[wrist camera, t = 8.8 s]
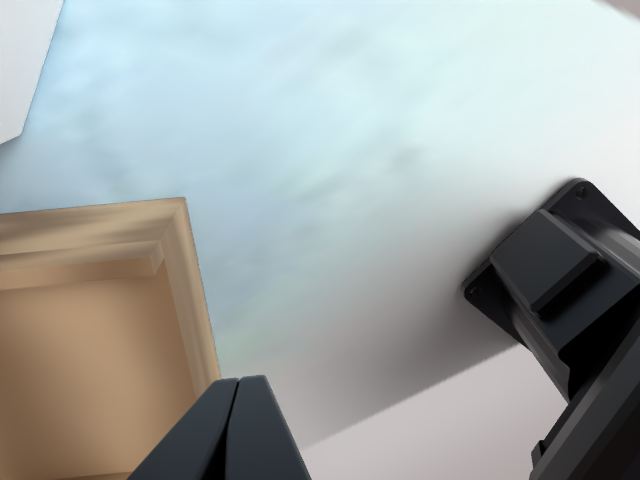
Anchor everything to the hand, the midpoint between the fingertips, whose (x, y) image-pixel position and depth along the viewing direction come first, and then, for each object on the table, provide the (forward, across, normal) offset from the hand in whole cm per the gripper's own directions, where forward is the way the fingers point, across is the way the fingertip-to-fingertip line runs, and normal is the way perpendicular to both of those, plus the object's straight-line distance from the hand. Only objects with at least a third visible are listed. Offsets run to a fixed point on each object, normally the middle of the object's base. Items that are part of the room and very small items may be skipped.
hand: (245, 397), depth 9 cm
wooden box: (+12, +10, +5) cm, 16 cm away
